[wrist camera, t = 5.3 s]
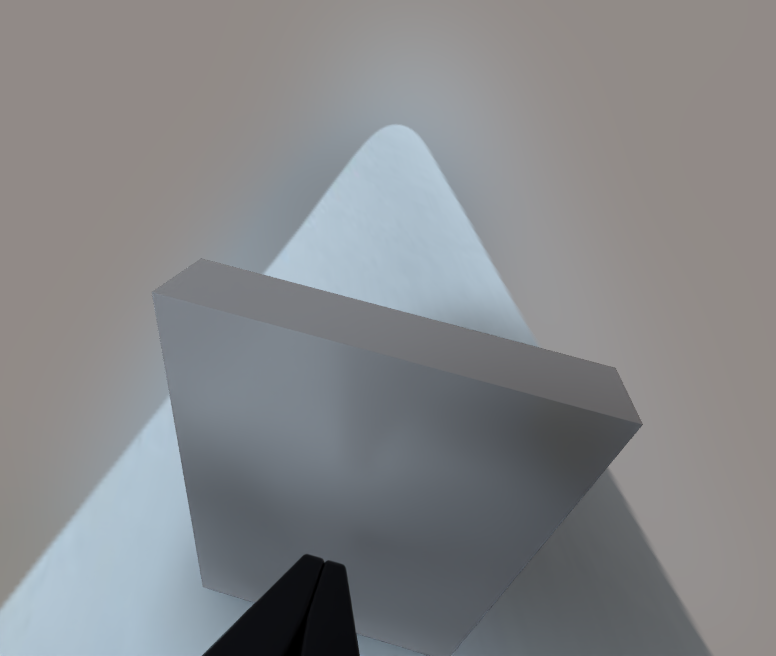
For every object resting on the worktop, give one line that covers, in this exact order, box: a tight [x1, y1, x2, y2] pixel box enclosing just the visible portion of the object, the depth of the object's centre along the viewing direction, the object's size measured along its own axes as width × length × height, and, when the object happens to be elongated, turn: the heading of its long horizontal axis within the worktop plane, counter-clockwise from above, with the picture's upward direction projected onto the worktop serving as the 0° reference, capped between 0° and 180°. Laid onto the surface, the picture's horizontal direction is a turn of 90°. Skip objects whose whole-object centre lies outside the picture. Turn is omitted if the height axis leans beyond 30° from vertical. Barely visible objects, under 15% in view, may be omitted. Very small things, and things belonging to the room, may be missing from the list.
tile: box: [152, 258, 643, 656], centre depth 10 cm, size 2×8×11 cm, turn 77°
